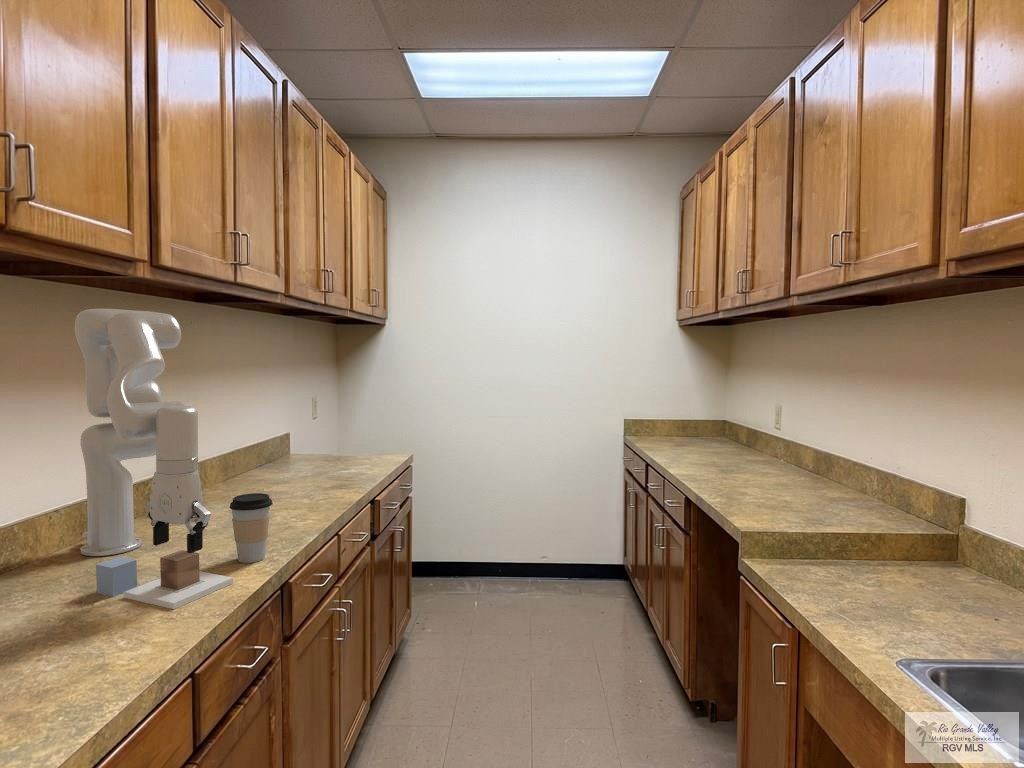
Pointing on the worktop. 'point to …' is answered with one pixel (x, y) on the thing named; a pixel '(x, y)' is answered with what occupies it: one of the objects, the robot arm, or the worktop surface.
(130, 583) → the block blue
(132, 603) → the worktop surface
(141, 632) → the worktop surface
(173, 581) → the block walnut
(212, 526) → the worktop surface
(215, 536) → the worktop surface
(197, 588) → the plate
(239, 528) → the coffee cup
